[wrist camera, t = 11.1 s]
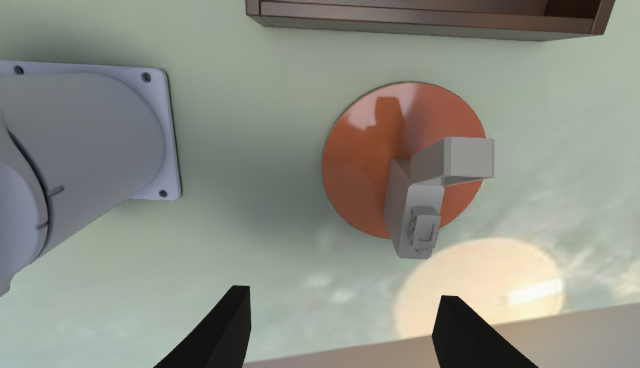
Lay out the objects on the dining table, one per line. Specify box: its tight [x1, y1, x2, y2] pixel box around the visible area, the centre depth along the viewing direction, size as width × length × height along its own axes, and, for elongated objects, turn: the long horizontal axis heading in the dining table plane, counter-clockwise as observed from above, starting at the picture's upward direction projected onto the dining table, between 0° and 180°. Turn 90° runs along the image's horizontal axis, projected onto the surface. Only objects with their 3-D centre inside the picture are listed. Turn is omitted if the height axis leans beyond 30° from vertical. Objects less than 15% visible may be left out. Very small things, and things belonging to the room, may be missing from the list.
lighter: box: [383, 137, 494, 259], centre depth 15 cm, size 7×2×8 cm, turn 177°
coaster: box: [322, 82, 486, 239], centre depth 19 cm, size 10×10×1 cm
